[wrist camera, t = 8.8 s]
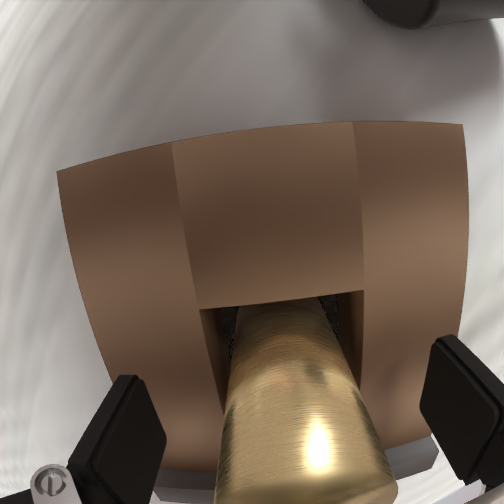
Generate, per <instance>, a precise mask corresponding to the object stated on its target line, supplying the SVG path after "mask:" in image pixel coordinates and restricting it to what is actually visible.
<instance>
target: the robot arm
mask: <svg viewBox="0 0 504 504" xmlns="http://www.w3.org/2000/svg"><path fill="white" fill-rule="evenodd" d="M419 408H420V412H421V414H422V416H423V417H424V419H425V421H426V423H427V424H428V426H429V428H430V429H431V431H432V433H433V435H434V436H435V438H436V440H437V442H438V443H439V445H440V447H441V449H442V450H443V452H444V454H445V456H446V458H447V459H448V461H449V463H450V465H451V467H452V469H453V470H454V472H455V474H456V476H457V478H458V479H459V480H463V481H464V483H465V485H466V486H467V485H469V484H471V483H473V482H475V481H477V480H479V479H480V480H481V481H482V483H483V484H482V488H481V491H480V495H479V497H477V498H475V499H473V500H471V501H468V502H466V503H464V504H504V384H503V383H502V382H501V381H500V380H499V379H498V378H497V377H496V376H495V375H494V374H493V373H492V371H491V370H490V369H489V368H488V367H487V366H486V365H485V364H484V363H483V362H482V361H481V360H480V359H479V358H478V357H477V356H476V355H475V354H474V353H472V352H471V351H470V350H469V349H468V348H467V347H466V346H465V345H464V344H463V343H462V342H461V341H460V340H459V339H458V338H457V337H456V336H455V335H453V334H449V335H446V336H442V337H438V338H437V339H436V340H435V343H433V344H432V345H431V350H430V356H429V361H428V367H427V372H426V376H425V381H424V386H423V390H422V395H421V399H420V403H419ZM166 444H167V437H166V433H165V431H164V429H163V427H162V424H161V422H160V420H159V417H158V415H157V412H156V410H155V408H154V405H153V403H152V400H151V398H150V395H149V392H148V390H147V387H146V385H145V382H144V381H143V380H142V379H139V377H138V376H137V375H123V374H121V375H119V376H118V377H117V379H116V381H115V382H114V384H113V385H112V387H111V389H110V390H109V392H108V394H107V395H106V397H105V399H104V400H103V402H102V404H101V405H100V407H99V409H98V410H97V412H96V414H95V415H94V417H93V419H92V420H91V422H90V424H89V425H88V427H87V429H86V430H85V432H84V434H83V436H82V437H81V439H80V441H79V443H78V444H77V446H76V448H75V449H74V451H73V453H72V455H71V457H70V458H69V460H68V465H67V467H66V468H65V467H64V466H61V465H57V464H50V465H46V466H43V467H41V468H40V469H38V470H37V471H36V472H35V473H34V475H33V476H32V479H31V482H30V487H31V488H30V489H28V490H25V491H22V492H19V493H16V494H13V495H9V496H6V497H3V498H0V504H149V502H150V498H151V495H152V492H153V488H154V485H155V481H156V478H157V474H158V471H159V468H160V464H161V461H162V458H163V454H164V451H165V448H166Z"/></svg>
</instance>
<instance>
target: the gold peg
mask: <svg viewBox="0 0 504 504" xmlns="http://www.w3.org/2000/svg"><path fill="white" fill-rule="evenodd" d="M397 494H398V486H397V483H396V480H395V477H394V475H393V472H392V469H391V467H390V464H389V462H388V459H387V457H386V454H385V452H384V449H383V447H382V444H381V442H380V439H379V437H378V434H377V432H376V429H375V427H374V424H373V422H372V420H371V417H370V415H369V412H368V410H367V408H366V405H365V403H364V400H363V398H362V396H361V393H360V391H359V389H358V386H357V384H356V382H355V379H354V377H353V375H352V372H351V370H350V368H349V366H348V363H347V361H346V359H345V357H344V354H343V352H342V350H341V348H340V345H339V343H338V341H337V339H336V336H335V334H334V332H333V330H332V328H331V325H330V323H329V321H328V319H327V317H326V314H325V312H324V310H323V308H322V306H321V304H320V301H319V299H318V298H317V296H316V297H309V298H301V299H293V300H285V301H276V302H268V303H259V304H250V305H241V306H239V309H238V313H237V321H236V328H235V336H234V344H233V352H232V359H231V367H230V375H229V383H228V391H227V398H226V406H225V414H224V422H223V430H222V438H221V446H220V455H219V463H218V471H217V479H216V487H215V496H214V504H393V502H394V501H395V499H396V497H397Z"/></svg>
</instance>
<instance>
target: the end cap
mask: <svg viewBox="0 0 504 504" xmlns="http://www.w3.org/2000/svg"><path fill="white" fill-rule="evenodd" d="M363 1H364V2H365V3H366V4H367V6H368V7H369V8H370V9H371V10H372V11H373V12H374V13H375V14H377V15H378V16H379V17H380V18H382V19H383V20H384V21H386V22H388V23H389V24H391V25H393V26H396V27H399V28H401V29H408V30H415V29H421V28H426V27H432V26H437V25H443V24H449V23H456V22H464V21H472V20H481V19H493V18H504V0H363Z"/></svg>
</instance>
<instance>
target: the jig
mask: <svg viewBox="0 0 504 504" xmlns="http://www.w3.org/2000/svg"><path fill="white" fill-rule="evenodd" d="M57 179H58V186H59V193H60V200H61V206H62V212H63V218H64V223H65V228H66V233H67V238H68V243H69V247H70V252H71V256H72V260H73V265H74V269H75V273H76V276H77V280H78V284H79V288H80V291H81V295H82V298H83V301H84V305H85V308H86V311H87V314H88V318H89V321H90V324H91V327H92V330H93V333H94V336H95V338H96V341H97V344H98V347H99V350H100V352H101V355H102V358H103V360H104V363H105V365H106V368H107V370H108V373H109V375H110V378H111V380H112V383H113V384H114V382H115V381H116V379H117V377H118V376H119V375H121V374H123V375H137V376H138V377H139V379H142V380H143V381H144V382H145V385H146V387H147V390H148V392H149V395H150V398H151V400H152V403H153V405H154V408H155V410H156V412H157V415H158V417H159V420H160V422H161V424H162V427H163V429H164V431H165V433H166V437H167V444H166V448H165V451H164V454H163V458H162V461H161V464H160V468H159V471H158V474H157V478H156V481H155V485H154V488H153V491H154V492H155V493H156V495H157V496H158V498H159V499H160V500H161V501H168V502H178V503H191V504H214V496H215V487H216V479H217V471H218V463H219V455H220V446H221V438H222V430H223V422H224V414H225V406H226V398H227V391H228V383H229V375H230V367H231V360H230V355H229V350H228V345H227V339H226V334H225V329H224V323H223V318H222V312H221V307H231V306H241V305H250V304H259V303H268V302H276V301H285V300H293V299H301V298H309V297H316V296H323V295H331V294H337V300H338V343H339V345H340V348H341V350H342V352H343V354H344V357H345V359H346V361H347V363H348V366H349V368H350V370H351V372H352V375H353V377H354V379H355V382H356V384H357V386H358V389H359V391H360V393H361V396H362V398H363V400H364V403H365V405H366V408H367V410H368V412H369V415H370V417H371V420H372V422H373V424H374V427H375V429H376V432H377V434H378V437H379V439H380V442H381V444H382V447H383V449H384V452H385V454H386V457H387V459H388V462H389V464H390V467H391V469H392V472H393V475H394V477H395V480H399V479H402V478H405V477H408V476H411V475H414V474H417V473H420V472H423V471H426V470H428V469H431V468H432V466H433V464H434V462H435V459H436V457H437V455H438V453H439V450H438V448H437V446H436V444H435V442H434V441H433V439H432V437H431V433H432V431H431V429H430V428H429V426H428V424H427V423H426V421H425V419H424V417H423V416H422V414H421V412H420V408H419V403H420V399H421V395H422V390H423V386H424V381H425V376H426V372H427V367H428V361H429V356H430V350H431V345H432V344H433V343H435V340H436V339H437V338H438V337H442V336H446V335H449V334H453V335H455V336H456V337H458V331H459V326H460V319H461V313H462V306H463V298H464V290H465V281H466V270H467V256H468V235H469V195H468V174H467V160H466V149H465V140H464V132H463V125H462V124H450V123H434V122H411V121H352V122H327V123H311V124H297V125H286V126H275V127H266V128H257V129H249V130H241V131H234V132H227V133H220V134H213V135H207V136H201V137H195V138H190V139H184V140H179V141H174V142H169V143H164V144H159V145H154V146H150V147H145V148H141V149H136V150H132V151H128V152H124V153H120V154H116V155H112V156H108V157H104V158H101V159H97V160H93V161H90V162H86V163H83V164H79V165H76V166H73V167H69V168H66V169H63V170H60V171H57Z"/></svg>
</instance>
